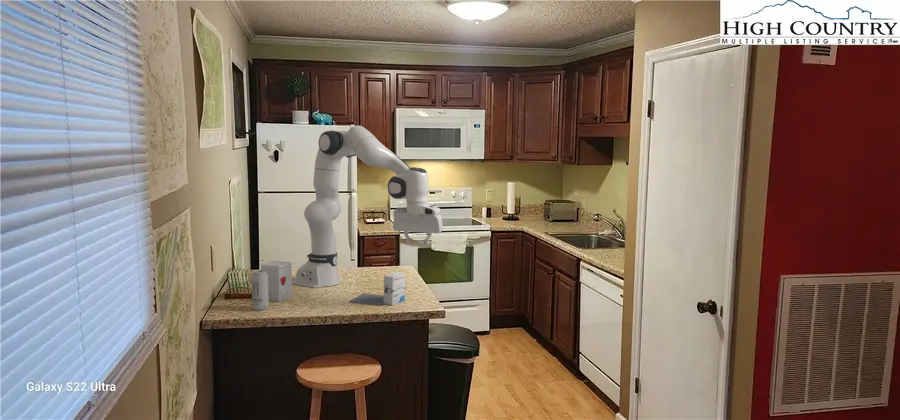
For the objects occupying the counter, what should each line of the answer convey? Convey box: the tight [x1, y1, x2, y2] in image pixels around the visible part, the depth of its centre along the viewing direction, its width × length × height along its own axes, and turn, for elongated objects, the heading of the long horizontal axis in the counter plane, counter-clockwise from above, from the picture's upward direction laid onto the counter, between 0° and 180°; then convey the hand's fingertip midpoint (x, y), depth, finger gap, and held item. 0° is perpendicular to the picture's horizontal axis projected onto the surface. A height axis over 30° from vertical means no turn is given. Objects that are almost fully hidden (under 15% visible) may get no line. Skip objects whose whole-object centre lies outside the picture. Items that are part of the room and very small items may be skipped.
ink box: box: [383, 271, 406, 306], centre depth 234 cm, size 9×5×12 cm, turn 148°
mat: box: [348, 292, 384, 307], centre depth 238 cm, size 14×13×1 cm
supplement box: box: [260, 260, 293, 303], centre depth 238 cm, size 9×9×15 cm
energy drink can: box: [251, 269, 270, 312], centre depth 223 cm, size 6×6×15 cm
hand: (417, 243), depth 229 cm, fingers open, 6 cm apart
